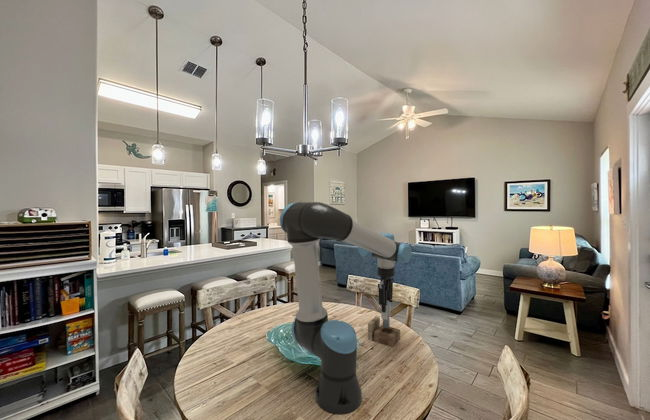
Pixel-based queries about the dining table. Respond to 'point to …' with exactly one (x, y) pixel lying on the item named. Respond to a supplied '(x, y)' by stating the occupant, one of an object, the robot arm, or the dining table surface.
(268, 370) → the dining table surface
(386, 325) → the dowel
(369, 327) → the jig
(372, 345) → the dining table surface
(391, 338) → the block
